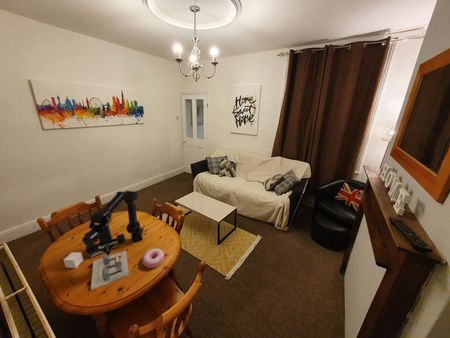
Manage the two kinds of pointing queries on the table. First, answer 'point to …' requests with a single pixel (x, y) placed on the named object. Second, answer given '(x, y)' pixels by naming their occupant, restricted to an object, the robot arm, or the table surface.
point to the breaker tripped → (117, 261)
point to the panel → (114, 271)
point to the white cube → (73, 260)
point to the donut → (153, 262)
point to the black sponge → (96, 251)
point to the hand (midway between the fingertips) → (108, 254)
